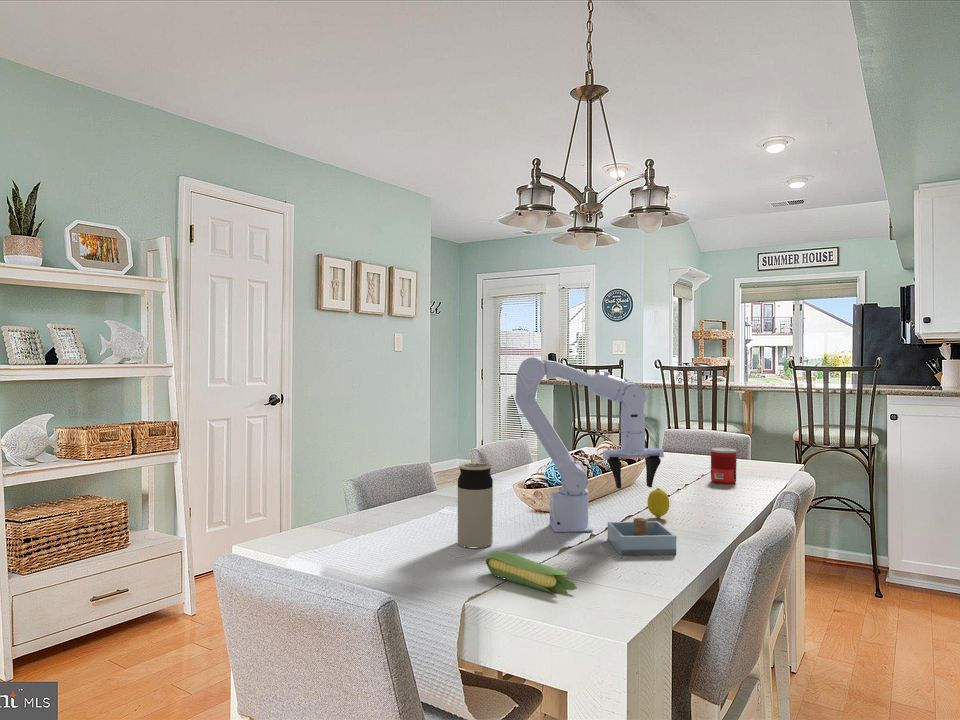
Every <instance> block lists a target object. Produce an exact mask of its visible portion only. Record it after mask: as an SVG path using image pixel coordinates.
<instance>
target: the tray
mask: <svg viewBox="0 0 960 720" xmlns="http://www.w3.org/2000/svg"><path fill="white" fill-rule="evenodd" d="M607 540H608V542H609V543H610V544H611V545H612V546H613V548H614V549H615V550H616V551H617V552H618V554H619V555H620V556H654V555H655V556H658V555H660V556H662V555H663V556H664V555H665V556H667V555H668V556H669V555H677V535H676V534H674V533H673V532H672V531H671V530H669V528H667V527H666V526H665V525H663V524H662V523H660V521H657V520H656V521H655V520H654V521H647V536H634V521H608V522H607Z"/></svg>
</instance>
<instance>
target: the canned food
mask: <svg viewBox="0 0 960 720" xmlns="http://www.w3.org/2000/svg"><path fill="white" fill-rule="evenodd" d="M710 480H711V482H712V483H713V484H718V485H735V484H736V482H737V449H735V448H730V447H729V448H728V447H713V448H711V450H710Z"/></svg>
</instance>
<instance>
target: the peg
mask: <svg viewBox="0 0 960 720" xmlns="http://www.w3.org/2000/svg"><path fill="white" fill-rule="evenodd" d="M633 522H634V536H647V522H648V519H646V518H641V517H637V518H636V517H635V518H633Z"/></svg>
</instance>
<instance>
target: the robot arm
mask: <svg viewBox="0 0 960 720" xmlns="http://www.w3.org/2000/svg"><path fill="white" fill-rule="evenodd" d="M545 375H546V376H545ZM544 377H546V380H548V379H549V380H550V379H554V378H555V379H556V378H560V379H563V380H567V381H570V382H573V383H575V384H579V385H583V386H586V387H588V388H589V390H590V392H591V394H592V395H596V396H598V397H601V398H604V399H608V400H610V401H613V402H617V403H618V402H619V401H620V403H621V408H620V409H621V410H620V411H621V412H620V440H621V444H620V445H621V447H620V448H615V449H614V448H613V449H604V450H603V451H602V452H603V453H602V454H603V456H602V457H603V459H604V460H606V461H607V463H608V465H609V467H610V470H611V472H612V475H613V477H614V482H615V487H616V488H617V489H622V478H621V477H622V476H621V474H622V464H623V463H622V461H621V459H633V458H635V459H637V458H644V462H645V468H646V473H645V474H646V477H645V478H646V480H645V481H646V487H648V488H653V482H654V479H655V477H656V472H657V470H658V468H659V467H660V465H661V461H662V459H661V458H664V456H665V455H664V454H665V453H664V449H663V448H662V447H661V448H660V447H659V448H656V447H655V448H649V447H648V448H647V447H646V427H645V426H646V424H645V423H646V422H645V419H646V418H645V402H646V401H647V398H648V397H647V394H646V391H645V389H644V388H643V387H642V386H641V385H639V384H638V383H634V382H633V381H629V379H628V378H625V377H624V378H623V379H622V378H620V377H616V376H614V375H611V373H610V372H609V371H606V370H605V371H598V372H596V373H594V374H591V373H588V372H585V371H583V370H580V369H577V368H574V367H572V366H569V365H566V364H564V363H561V362H558V361H553V360H548V359H542V360H541V359H539V358H538V357H535V356H531V357H530V356H529V357H527V358H525V359H524V360H523V361H522V362H521V363H520V365H519V367H518V370H517V373H516V379H515V380H516V381H515V402H516V404H517V406H518V408H519V409H520V411H521V413H522V414H523V416H524V417H525V419H526V421H527V422H528V424H529V425H530V427H531V428H532V431H534V433H535V435H536V437H537V438H538V440H539V441H540V444H542V446H543V448H544V450H545V451H546V452H547V454H548V456H549V457H550V460H552V462H553V464H554V466H555V468H556V470H557V472H558V473H559V475H560V479H561V487H559V488H558V491H555V492H550V494H549V495H550V496H549V522H548V523H549V525H550V527H551V529H552V531H553V532H555V533H560V532H561V533H562V532H564V533H569V532H593V531H594V529H593V527H592V526H591V525H590V524H589V489H588V488H587V487H588V483H589V479H588V475H587V474H586V471H585V468H584V466H583V465H582V464H581V463H578V462H577V461H576V460H575V459H574V458H573V456H572V454H571V453H570V451H568V449H567V447H566V445H565V444H564V442H563V441H562V439H561V437H560V436H559V435H558V433H557V432H556V429H555V428H554V426H553V425H552V423H551V422H550V420H549V418H548V416H547V415H546V414H545V412H544V410H543V409H542V407H541V406H540V404H539V401H538V400H537V399H536V397H537V396H536V395H537V392H538V388H539V387H538V386H539V385H540V384H541V382H542V381H543V379H544Z"/></svg>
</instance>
